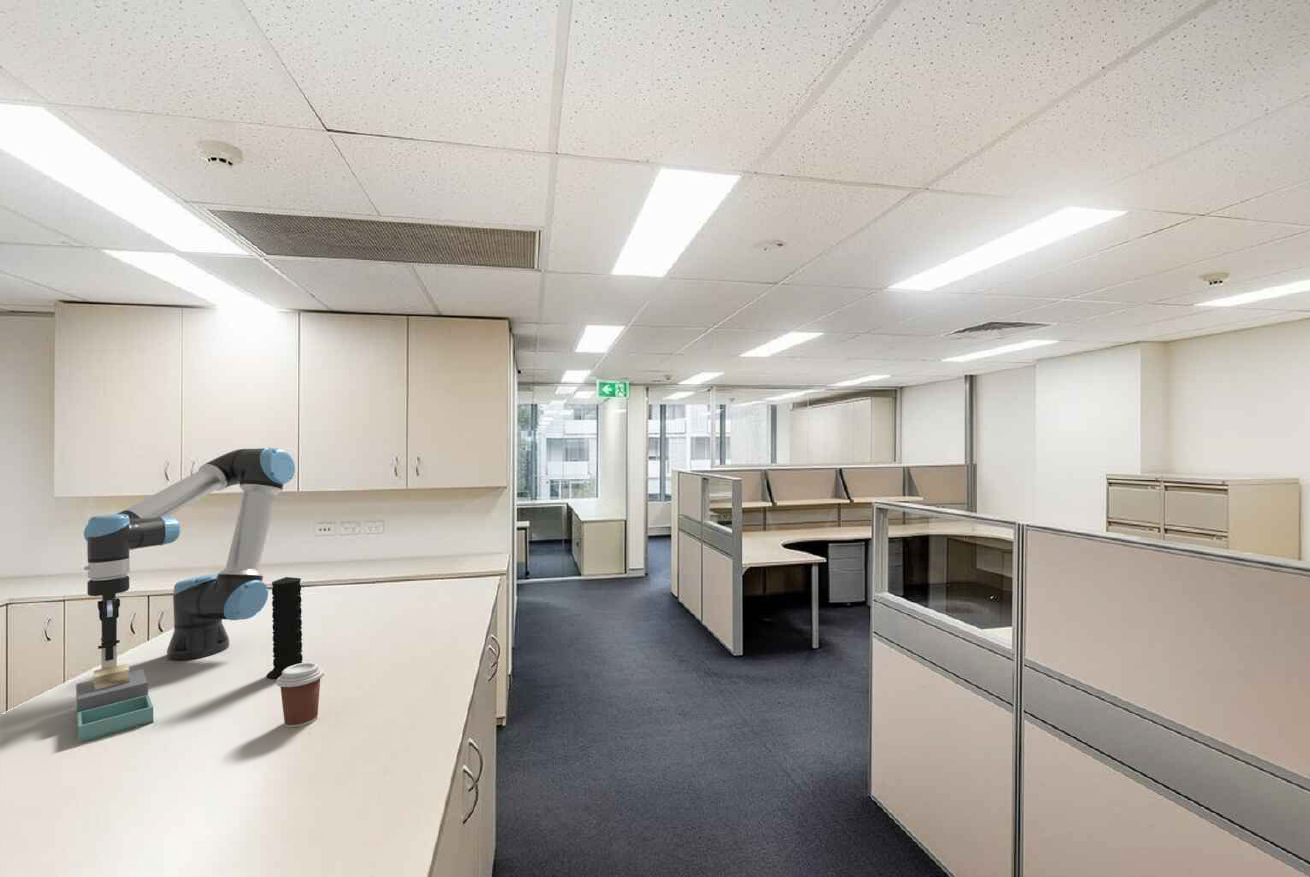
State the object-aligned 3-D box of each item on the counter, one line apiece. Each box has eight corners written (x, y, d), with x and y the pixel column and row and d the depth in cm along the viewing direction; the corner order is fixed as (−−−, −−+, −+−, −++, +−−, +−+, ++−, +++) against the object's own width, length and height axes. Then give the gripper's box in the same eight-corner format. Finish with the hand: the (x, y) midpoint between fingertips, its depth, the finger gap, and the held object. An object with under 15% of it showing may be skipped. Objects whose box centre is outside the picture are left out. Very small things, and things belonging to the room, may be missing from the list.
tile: (127, 675, 142) (127, 663, 142) (129, 681, 138) (129, 669, 138) (94, 683, 138) (93, 670, 138) (94, 689, 134) (94, 677, 134)
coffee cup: (333, 714, 131) (332, 662, 131) (297, 733, 122) (296, 678, 122) (304, 709, 134) (303, 658, 134) (267, 727, 125) (266, 673, 125)
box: (148, 709, 136) (148, 694, 136) (153, 722, 129) (153, 707, 129) (77, 728, 127) (77, 712, 127) (78, 743, 120) (78, 726, 121)
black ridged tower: (257, 678, 153) (288, 680, 151) (255, 580, 154) (286, 581, 152) (287, 664, 163) (317, 666, 161) (286, 572, 163) (315, 573, 161)
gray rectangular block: (142, 692, 146) (142, 669, 146) (148, 707, 137) (147, 682, 137) (76, 708, 137) (76, 684, 137) (77, 725, 128) (77, 699, 128)
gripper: (87, 576, 142) (87, 670, 142) (87, 583, 133) (88, 684, 133) (127, 571, 148) (128, 661, 147) (131, 578, 139) (131, 674, 138)
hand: (109, 672), depth 140 cm, fingers closed
